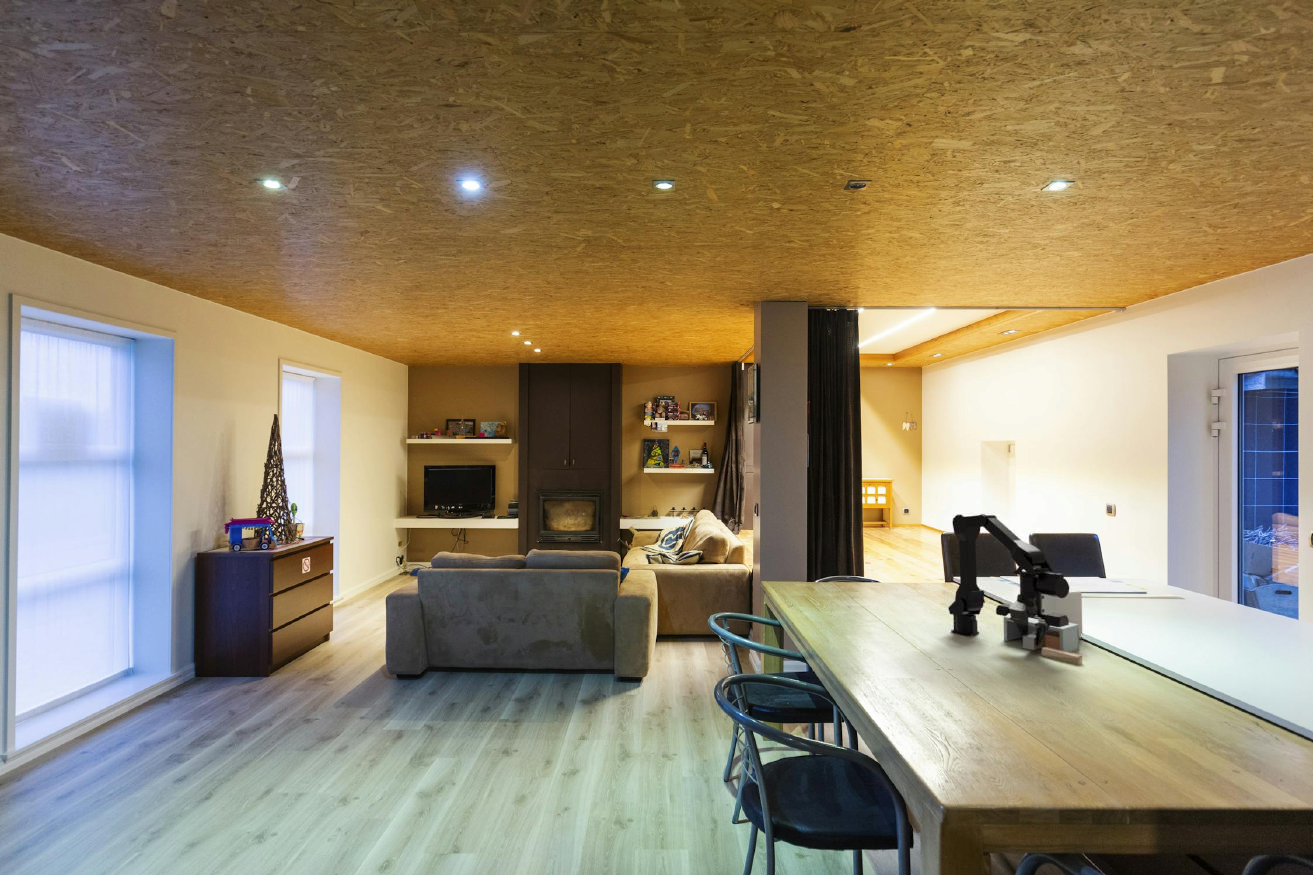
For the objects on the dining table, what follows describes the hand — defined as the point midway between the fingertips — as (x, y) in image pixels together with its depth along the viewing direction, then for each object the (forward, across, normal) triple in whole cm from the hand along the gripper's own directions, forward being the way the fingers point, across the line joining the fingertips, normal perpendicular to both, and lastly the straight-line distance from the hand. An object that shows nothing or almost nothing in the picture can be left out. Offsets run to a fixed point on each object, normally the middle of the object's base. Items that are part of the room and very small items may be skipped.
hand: (1031, 643), depth 197 cm
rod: (+3, +7, +2) cm, 8 cm away
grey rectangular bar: (+2, -1, +5) cm, 6 cm away
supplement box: (+3, -6, +29) cm, 30 cm away
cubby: (+3, -4, +12) cm, 13 cm away
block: (+3, +2, +10) cm, 11 cm away
